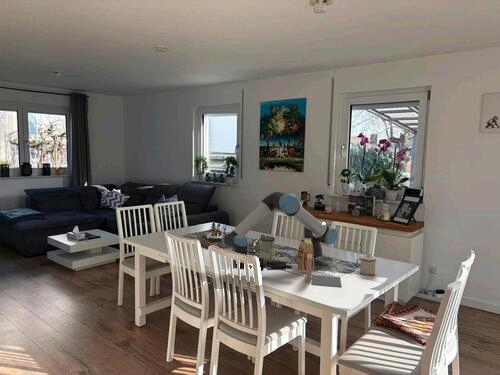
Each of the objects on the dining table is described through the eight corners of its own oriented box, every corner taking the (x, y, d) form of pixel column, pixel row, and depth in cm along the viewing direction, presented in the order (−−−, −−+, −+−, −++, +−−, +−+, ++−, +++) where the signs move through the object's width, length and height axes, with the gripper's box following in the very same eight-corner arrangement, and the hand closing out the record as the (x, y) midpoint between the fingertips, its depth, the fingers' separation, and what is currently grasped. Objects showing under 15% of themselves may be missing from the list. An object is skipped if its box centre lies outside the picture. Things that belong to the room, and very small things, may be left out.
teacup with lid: (377, 272, 228) (378, 253, 227) (371, 276, 222) (372, 256, 220) (359, 267, 236) (360, 249, 235) (352, 271, 230) (353, 252, 228)
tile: (305, 282, 208) (306, 258, 207) (306, 276, 218) (307, 253, 217) (310, 283, 208) (311, 258, 206) (311, 277, 218) (312, 253, 216)
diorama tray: (228, 236, 310) (228, 232, 310) (245, 244, 286) (245, 239, 286) (196, 240, 296) (196, 235, 295) (211, 249, 272) (211, 243, 271)
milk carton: (303, 271, 227) (304, 239, 225) (294, 267, 235) (295, 235, 233) (315, 269, 231) (316, 237, 229) (306, 265, 239) (307, 234, 237)
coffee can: (259, 255, 258) (260, 235, 256) (274, 256, 257) (275, 236, 255) (258, 260, 248) (259, 239, 246) (274, 261, 247) (275, 240, 245)
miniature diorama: (203, 245, 282) (203, 223, 280) (208, 239, 302) (208, 218, 300) (229, 246, 281) (229, 224, 279) (232, 240, 300) (233, 219, 299)
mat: (311, 284, 205) (311, 284, 205) (312, 275, 220) (312, 274, 220) (341, 287, 203) (341, 286, 202) (340, 277, 217) (340, 277, 217)
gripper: (258, 266, 225) (298, 269, 220) (254, 273, 212) (296, 277, 207) (258, 254, 224) (298, 257, 219) (254, 260, 211) (297, 264, 207)
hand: (297, 267), depth 213 cm, fingers closed
